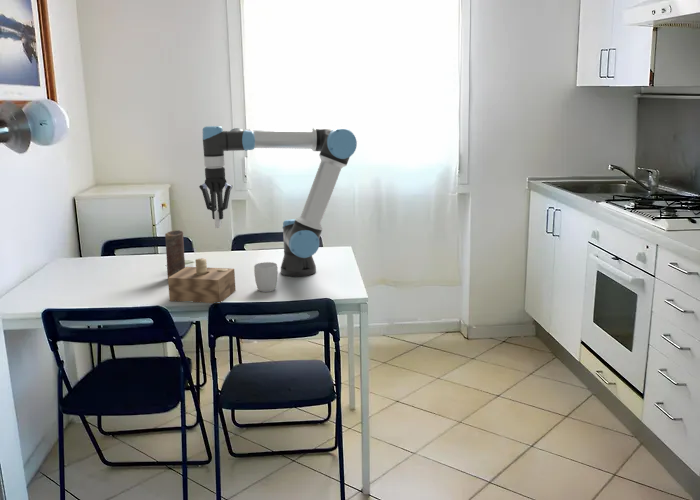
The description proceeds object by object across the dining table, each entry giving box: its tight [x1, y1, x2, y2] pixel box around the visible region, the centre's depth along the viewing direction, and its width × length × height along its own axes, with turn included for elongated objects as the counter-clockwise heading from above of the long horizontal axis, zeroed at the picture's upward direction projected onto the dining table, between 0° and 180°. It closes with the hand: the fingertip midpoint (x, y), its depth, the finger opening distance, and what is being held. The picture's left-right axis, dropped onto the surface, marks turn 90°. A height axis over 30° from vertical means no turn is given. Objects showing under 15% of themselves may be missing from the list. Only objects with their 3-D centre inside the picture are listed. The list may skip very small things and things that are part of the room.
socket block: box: [167, 266, 237, 304], centre depth 258 cm, size 20×16×9 cm
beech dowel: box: [195, 257, 208, 275], centre depth 256 cm, size 4×4×9 cm
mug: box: [253, 261, 279, 293], centre depth 266 cm, size 13×9×10 cm
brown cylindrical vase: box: [165, 229, 186, 278], centre depth 281 cm, size 8×7×20 cm
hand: (218, 227), depth 264 cm, fingers closed
